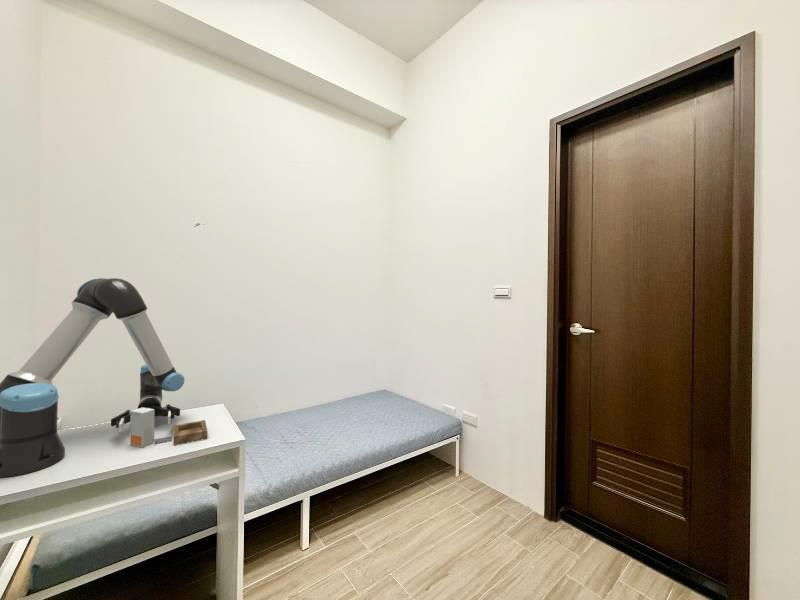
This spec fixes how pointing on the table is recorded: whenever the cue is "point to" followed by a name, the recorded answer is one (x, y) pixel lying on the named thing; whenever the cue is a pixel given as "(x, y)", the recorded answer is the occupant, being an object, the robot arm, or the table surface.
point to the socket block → (190, 432)
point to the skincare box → (142, 427)
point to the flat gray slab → (163, 440)
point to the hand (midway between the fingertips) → (145, 424)
